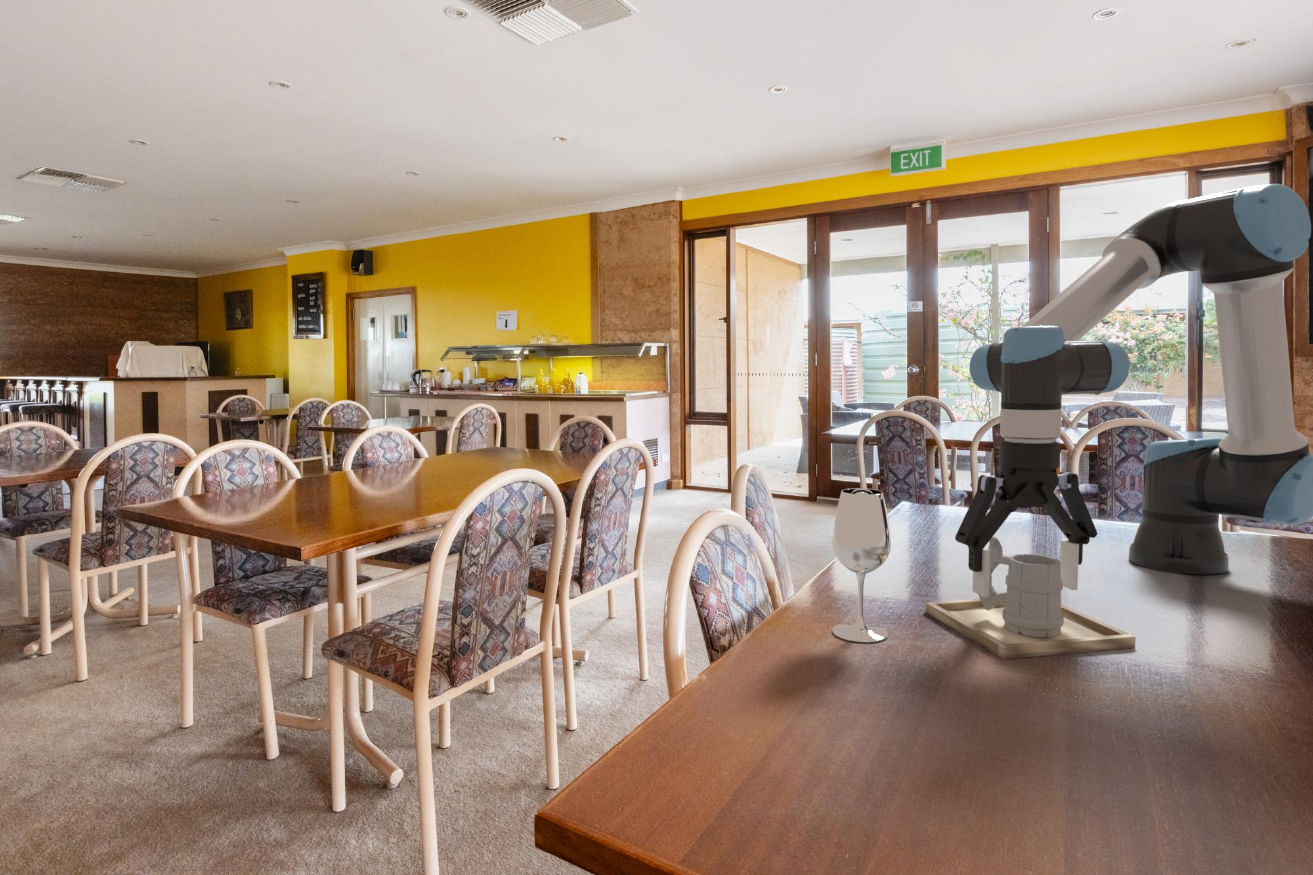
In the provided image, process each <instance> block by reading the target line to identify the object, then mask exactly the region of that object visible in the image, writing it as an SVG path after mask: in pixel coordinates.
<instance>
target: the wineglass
mask: <svg viewBox="0 0 1313 875" xmlns="http://www.w3.org/2000/svg"><path fill="white" fill-rule="evenodd" d="M889 521H890V520H889V516H888V509H887V506H886V500H885V496H884V492H883V491H882V490H879V489H873V488H866V487H865V488H864V487H863V488H861V487H859V488H858V487H857V488H855V487H854V488H853V487H852V488H845V489H842V490H841V491H840V496H839V499H838V504H837V508H836V513H835V519H834V523H833V531H832V541H831V542H832V549H833V553H834V555H835V557H836V559H837V560H838V562H839V563H840V564H841V565H842V566H844V567H845V568H846V569H848V570H849V571H851V572H852V573H855V575H856V578H857V579H856V580H857V597H858V598H857V618H856V620H855V621H854V622H843V623H839V624H836V625H834V626H833V627H832V633H833V635H835V636H836V637H838V638H839V639H842V640H845V641H849V642H856V643H877V642H880V641H881V642H882V641H884V640H886V639H887V638H888V637H889V632H888V630H887V629H885V628H884V627H882V626H880V625H876V624H873V623H867V622H866V621H865V618H864V587H865V586H864V585H865V579H866V575H867V574H869V573H872V572H874V571H876V570H877V569H879V568H880V567H881V566H883V565H884V563H885V562H886V560H887V559H888V558H889V555H890V553H891V549H892V547H891V546H892V537H891V527H890V526H891V525H890V522H889Z"/></svg>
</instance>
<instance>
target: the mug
mask: <svg viewBox="0 0 1313 875" xmlns="http://www.w3.org/2000/svg"><path fill="white" fill-rule="evenodd" d="M988 543H989V546H988V548H987V549H989V550H990V575H989V597H983V596H981V595H979V594H978V596H979V598H978V599H980V600H981V601H982V602H983V605H984V608H985V610H988V611H989V610H991V609H993V608H994V607H995V606H996V605H998V604H1006V607H1005V608H1004V609H1003V612H1002V617H1003V619H1004V620H1005V623H1004V625H1005V627H1006V629H1007V630H1009V631H1011V632H1013V633H1015V634H1022V635H1024V636H1028V637H1038V638H1044V637H1047V638H1051V637H1056V636H1058V635H1060V633H1061V627H1062V626H1063V624H1064V618H1063V616H1062V614H1061V604H1062V602H1061V601H1062V600H1061V598H1062V591H1063V589H1064V588H1063V583H1062V581H1061V564H1060V560H1059V559H1057V558H1054V557H1052V556H1046V555H1043V554H1042V555H1041V554H1034V553H1023V554H1021V553H1019V554H1018V553H1017V554H1013V555H1010V556H1009V555H1004V554H1003V546H1002V544H1001V542H1000V540H999V539H998V538H997V537H996V536H995V535H993V537H992V538H991V539H990V541H989V542H988ZM1000 564H1001V565H1005V566H1006V565H1007V566H1008V569H1007V572H1008V573H1007V575H1006V576H1005V585H1006V591H1004V592H998V591H996V589H995V588H994V586H993V585H992V578H993V576H992V574H993V572H994V571H995V570H996V568H997V567H998V566H999V565H1000Z"/></svg>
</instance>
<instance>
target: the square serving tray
mask: <svg viewBox="0 0 1313 875" xmlns="http://www.w3.org/2000/svg"><path fill="white" fill-rule="evenodd" d="M1005 607H1006V604H998V605H996V606H995V607H994V608H993V609H991V610H989V611H988V610H985V608H984V605H983V602H982V601H981V600H980V598H972V599H959V600H958V599H957V600H942V601H930V602H929V601H928V602H925V613H926V614H928V615H929V616H931V617H932V618H935V619H937V621H940V622H941V623H943V624H944V625H946V626H948V627H950V628H951V629H952V630H955V631H956V632H958V633H959V634H961V635H962V636H964V637H965V638H968V639H969V640H971V641H973V642H974V643H976V644H977V645H979V646H981V647H982V648H984V649H986V650H987V651H989V652H991V653H992V654H994V655H996V656H997V657H999V658H1000V659H1003V660H1008V659H1020V658H1031V657H1043V656H1056V655H1065V654H1066V655H1068V654H1079V653H1090V652H1101V651H1102V652H1103V651H1112V650H1113V651H1114V650H1125V649H1126V650H1127V649H1135V648H1136V640H1137V637H1136V636H1135V635H1133V634H1130V633H1129V632H1127V631H1123V630H1121V629H1120V628H1117V627H1115V626H1113V625H1110V624H1109V623H1105V622H1104V621H1101V620H1098V619H1096V618H1095V617H1092V616H1089V615H1087V614H1085V613H1082V612H1080V611H1078V610H1077V609H1074V608H1071V607H1069V606H1067V605H1065V604H1062V603H1061V614H1062V616H1063V618H1064V624H1063V626H1062V627H1061V633H1060V635H1058V636H1056V637H1051V638H1047V637H1044V638H1038V637H1028V636H1024V635H1022V634H1015V633H1013V632H1011V631H1009V630H1007V629H1006V627H1005V625H1004V623H1005V620H1004V619H1003V617H1002V612H1003V609H1004V608H1005Z"/></svg>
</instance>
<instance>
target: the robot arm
mask: <svg viewBox="0 0 1313 875" xmlns="http://www.w3.org/2000/svg"><path fill="white" fill-rule="evenodd" d="M1311 222H1312V221H1311V217H1310V213H1309V210H1308V208H1307V206H1306V204H1305V202H1304V200H1303V199H1302V197H1301V196H1300V195H1299V194H1298V193H1296V192H1295V190H1294V189H1293V188H1291V187H1289V186H1288V185H1285V184H1280V183H1268V184H1260V185H1251V186H1248V185H1247V186H1244V187H1240V188H1235V189H1230V190H1226V191H1223V192H1222V191H1221V192H1218V193H1213V194H1207V195H1203V196H1197V197H1194V198H1193V197H1192V198H1186V199H1182V200H1177V201H1174V202H1171V203H1169V204H1167V205H1164V206H1162V207H1160V208H1158V209H1157V210H1155V211H1153V212H1151V213H1149V214H1147V215H1146V216H1144V217H1143V218H1141V219H1140V220H1138V221H1137V222H1135V223H1134V224H1133V225H1131V226H1129V227H1128V228H1126V230H1124V231H1123V232H1122V233H1120V234H1119V235H1118V236H1117V237H1115V238H1114V239H1113V240H1111V242H1109V243H1108V244H1107V245H1106V247H1105V248H1104V249H1103V252H1102V255H1101V258H1100V259H1099V260H1097V262H1096V263H1095V264H1093V265H1092V266H1091V267H1089V269H1087V270H1086V271H1085V272H1084V273H1083V274H1081V275H1080V276H1079V277H1078V278H1076V280H1074V281H1073V282H1072V283H1071V284H1070V285H1069V286H1068V287H1066V288H1065V289H1064V290H1063V291H1061V292H1060V293H1059V294H1058V295H1057V296H1056V297H1054V298H1053V299H1052V300H1051V301H1049V303H1047V304H1046V305H1045V306H1043V308H1041V309H1040V310H1039V311H1038V312H1037V313H1036V314H1034V315H1033V316H1032V317H1031V318H1030V319H1029V320H1027V321H1026V322H1025V323H1024V324H1023V325H1022V326H1016V327H1010V328H1008V329H1006V331H1005V332H1004V333H1003V338H1002V339H1003V340H1002V342H991V343H990V344H989V343H988V344H984V345H981V346H979V347H978V348H976V350H974V352H973V353H972V355H971V357H970V360H969V365H968V366H969V367H968V368H969V374H970V377H971V380H972V382H973V383H974V384H975V385H976V386H977V387H978V388H979V389H981V390H983V391H984V390H985V391H992V392H998V393H1000V394H1001V395H1000V418H999V419H1000V423H999V427H1000V428H999V436H1001V437H1002V438H1004V439H1003V440H1001V441H1000V442H999V447H998V448H999V449H998V452H999V454H998V456H999V457H998V464H999V467H1000V474H999V476H998V477H992V476H989V475H985V474H982V475H980V476H978V479H977V486H976V492H975V493H974V496H973V498H972V500H971V502H970V505H969V507H968V509H967V511H966V513H965V515H964V518H963V520H961V523H960V526H959V528H958V529H957V532H956V534H955V537H954V538H955V541H956V542H958V543H960V544H963V545H965V546H967V548H968V565H967V566H968V569H969V570H970V571H971V572H972V592H974V593H975V594H977V595H978V596H979V595H981V596H983V597H989V575H990V550H989V549H988V548H986V546H987V544H988V543H989V541H990V539H991V538H992V537H993V536H995V535H996V533H997V532H998V531H999V529H1000V528H1001V527H1002V525H1003V523H1004V522H1005V521H1006V520H1007V519H1008V518H1009V516H1010V515H1011V514H1012V513H1014V512H1016V511H1017V509H1019V508H1020V509H1028V508H1030V507H1035V508H1043V509H1044V511H1045V512H1046V513H1047V514H1048V515H1049V517H1050V518H1051V519H1052V521H1053V522H1054V523H1055V524H1056V526H1057V528H1059V530H1060V531H1061V532H1062V534H1063V535H1064V536H1065V538H1066V539H1068V540H1066V539H1061V540H1060V552H1059V553H1060V556H1059V559H1060V560H1059V561H1060V564H1061V581H1062V583H1063V587H1064V588H1066V589H1069V590H1070V591H1078V585H1079V584H1078V583H1079V582H1078V580H1079V566H1080V565H1082V563H1083V553H1084V552H1083V551H1084V545H1088V544H1089V543H1090V542H1091V539H1090V538H1092V539H1094V538H1096V537H1097V536H1098V531H1097V528H1096V526H1095V524H1094V521H1093V519H1092V516H1091V514H1090V512H1089V509H1088V507H1087V504H1086V502H1085V499H1084V497H1083V495H1082V493H1081V491H1080V484H1079V482H1080V481H1079V476H1078V475H1079V474H1077V473H1074V472H1070V471H1069V472H1068V471H1064V470H1063V471H1060V472H1059V473H1058V474H1057V469H1058V468H1059V467H1060V460H1061V458H1060V457H1061V456H1060V455H1061V444H1060V443H1059V442H1058V441H1056V439H1059V438H1060V437H1061V436H1062V396H1063V395H1096V396H1097V395H1100V394H1103V393H1104V394H1105V393H1111V392H1114V391H1115V390H1117V389H1119V388H1120V387H1121V386H1122V385H1123V384H1124V383H1125V382H1126V381H1127V378H1128V376H1129V374H1130V373H1129V372H1130V367H1131V366H1130V359H1129V355H1128V354H1127V352H1126V351H1125V349H1124V347H1122V346H1121V345H1119V343H1116V342H1113V341H1106V340H1101V339H1096V340H1095V339H1092V340H1081V339H1082V338H1084V336H1085V335H1086V334H1088V333H1089V332H1090V331H1091V330H1092V329H1093V328H1094V327H1096V326H1097V325H1098V324H1099V323H1100V322H1102V320H1104V319H1105V318H1106V317H1107V316H1108V315H1109V314H1110V313H1112V312H1113V311H1114V310H1115V309H1117V307H1119V305H1121V304H1122V303H1123V302H1124V301H1125V300H1127V298H1129V297H1130V296H1131V295H1132V294H1133V293H1135V291H1137V290H1140V289H1145V288H1148V287H1150V286H1152V284H1154V283H1155V282H1156V281H1158V279H1161V278H1164V277H1167V276H1170V275H1174V274H1177V273H1182V272H1183V273H1185V272H1194V271H1195V272H1196V271H1199V274H1200V283H1201V284H1200V285H1202V286H1203V287H1205V288H1206V289H1208V290H1210V291H1211V292H1213V298H1214V305H1215V315H1216V324H1217V325H1216V326H1217V335H1218V337H1217V338H1218V346H1219V355H1220V356H1219V357H1220V365H1221V374H1222V375H1221V376H1222V383H1223V384H1222V385H1223V391H1224V392H1223V394H1224V403H1225V412H1226V422H1227V430H1228V431H1227V432H1228V433H1227V435H1226V436H1225V437H1224V438H1220V437H1210V438H1209V437H1208V438H1207V437H1206V438H1191V439H1190V438H1188V439H1187V438H1185V439H1184V438H1183V439H1170V440H1169V439H1167V440H1157V441H1153V442H1152V441H1151V443H1149V444H1148V445H1147V446H1146V447H1145V453H1144V460H1143V463H1142V467H1143V476H1142V477H1143V479H1142V480H1143V483H1142V503H1141V505H1142V506H1141V509H1142V510H1141V519H1140V523H1139V525H1138V528H1137V530H1136V533H1135V535H1134V539H1133V542H1132V543H1131V544H1130V546H1129V548H1128V549H1129V550H1128V560H1129V561H1130V562H1131V563H1133V564H1135V565H1137V566H1138V565H1139V566H1141V567H1145V568H1148V569H1153V570H1157V571H1162V572H1169V573H1175V574H1176V573H1178V574H1185V575H1219V574H1224V573H1226V572H1228V571H1229V564H1230V563H1229V562H1230V561H1229V555H1228V553H1227V552H1225V546H1224V541H1223V537H1222V534H1221V531H1220V527H1219V522H1220V521H1219V520H1220V519H1219V518H1220V515H1223V516H1229V517H1234V518H1240V519H1246V520H1252V521H1258V522H1263V523H1266V524H1269V525H1274V524H1279V525H1280V524H1281V525H1287V526H1288V525H1289V526H1299V525H1301V524H1304V523H1306V522H1308V521H1310V520H1311V519H1312V518H1313V453H1311V452H1310V444H1309V439H1308V437H1307V436H1305V435H1304V434H1303V433H1301V432H1300V431H1298V430H1296V424H1295V412H1294V402H1293V390H1292V379H1291V368H1290V366H1291V365H1290V356H1289V345H1288V343H1289V342H1288V334H1287V333H1288V331H1287V323H1286V322H1287V320H1286V309H1285V308H1286V307H1285V300H1284V298H1285V296H1284V286H1283V285H1284V284H1283V282H1284V280H1285V279H1286V278H1287V277H1288V276H1289V275H1291V273H1292V272H1293V271H1294V270H1295V268H1294V266H1295V264H1294V260H1296V259H1299V258H1300V257H1301V256H1302V255H1304V254H1305V252H1306V251H1307V249H1308V247H1309V244H1310V242H1309V239H1310V238H1311V235H1312V234H1311V233H1312V224H1311ZM1057 487H1058V488H1059V491H1060V493H1061V495H1062V498H1063V500H1064V503H1065V505H1066V508H1067V510H1068V512H1069V513H1068V512H1067V510H1066V509H1065V508H1064V507H1063V505H1062V501H1061V500H1060V499H1059V497H1058V496H1057V495H1056V494H1055V490H1056V489H1057ZM999 490H1000V491H1001V492H1000V493H999V495H998V496H997V497H996V496H995V495H996V493H997V492H999ZM995 497H996V498H995ZM993 501H994V502H993ZM992 504H993V506H992V507H991V505H992Z"/></svg>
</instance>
